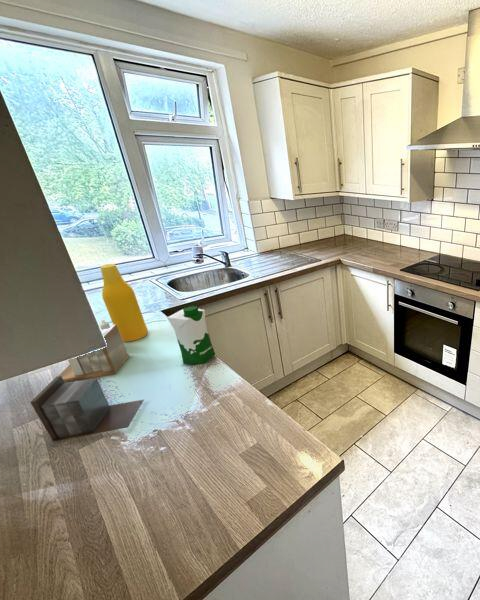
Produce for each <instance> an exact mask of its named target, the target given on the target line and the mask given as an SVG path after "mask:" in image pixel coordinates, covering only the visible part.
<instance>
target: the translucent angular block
mask: <svg viewBox="0 0 480 600" xmlns="http://www.w3.org/2000/svg"><path fill="white" fill-rule="evenodd" d="M100 330H102V333H103V335H104V338H105V340H106V343H107V347H105V348H103V349H100V350H97V351H93V352H91V353H88V354H85V355H83V356H79V357H78V359H79V361H80V363H81V366H82V368H83V370H84V372H85V374H83V375H76V376H75V374H74V372H73V370H72V368H71V366H70V364H69V365H68V366H67V367H66V368H64V370H63V371H62V372H61V373H59V375H58V376H61V377H62V379H63V381H64V383H67V382H74V381H80V380H87V379H94V378H98V377H99V378H100V377H106V376H110V375H111V376H112V375H116V374H118V372H119V370H120V369H121V368H122V366H123V365H124V364H125V363H126V361H127V360H128V359H129V357H130V356H131V355H130V353H129V352H128V350H127V348H126V345H125V343H124V341H123V340H122V337H121V335H120V332H119V330H118V327H117V325H116V324H115V325H113V324H112V325H111V326H110V328H109V329H101V328H100Z"/></svg>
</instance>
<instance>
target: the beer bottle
mask: <svg viewBox="0 0 480 600" xmlns="http://www.w3.org/2000/svg"><path fill="white" fill-rule="evenodd" d="M99 269H100V273H101V276H102V280H103V286H102V291H101V295H102V300H103V303H104V305H105V307H106V310H107V313H108V315H109V318H110V320H111V322H112V325H115V324H116V325H117V327H118V330H119V332H120V335H121V337H122V340H123V342H125V343H126V342H127V343H128V342H134V341H138V340H140V339H142V338H145V337H146V336H147V335H148V332H149V329H148V326H147V325H146V322H145V319H144V315H143V313H142V310H141V308H140V305H139V302H138V299H137V297H136V294H135V291H134V289H133V288H132V287H131V286H130V284H128V282H127V281H125V279H123V276H122V275H121V273H120V271H119V269H118V266H117V265H116V264H115V263H108V264H102V265H101V266H99Z"/></svg>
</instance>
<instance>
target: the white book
mask: <svg viewBox="0 0 480 600" xmlns="http://www.w3.org/2000/svg"><path fill="white" fill-rule="evenodd" d="M67 361H68V363H69V365H70V366H71V368H72V370H73V372H74V374H75V376H76V375H83V374H85V372H84V370H83V368H82V366H81V363H80V361H79V359H78V357H77V358H74V359H70V360H68V359H67Z"/></svg>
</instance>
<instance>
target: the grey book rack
mask: <svg viewBox="0 0 480 600" xmlns="http://www.w3.org/2000/svg"><path fill="white" fill-rule="evenodd" d="M144 401H145V399H138V400H133V401H128V402H122V403H117V404H109V402H108V400H107V398H106V396H105V393H104V391H103V389H102V386H101V384H100V382H99V380H98V377H94V378H87V379H81V380H75V381H68V382H64V381H63V379H62V377H61V376H59V375H58V376H55V377H54V379H52V380H51V381H50V382H49V383H48V384H47V385H46V386H45V387H44V388H43V389H42V390H41V391H40V392H39V393H38V394H37V395H36V396H35V397H34V398H32V400H31V401H30V404H31V406H32V408H33V409H34V411H35V413H36V415H37V417H38V418H39V420H40V422H41V423H42V425H43V426H44V429H45V430H46V432H47V433H48V435H49V437H50V439H51V443H53V442H58V441H63V440H69V439H74V438H80V437H84V436H89V435H97V434H101V433H105V432H111V431H115V430H122V429H126V428H129V427H130V425H131V423H132V422H133V420H134V419H135V416H136V414H137V413H138V412H139V409H140V408H141V406H142V404H143V403H144Z"/></svg>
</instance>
